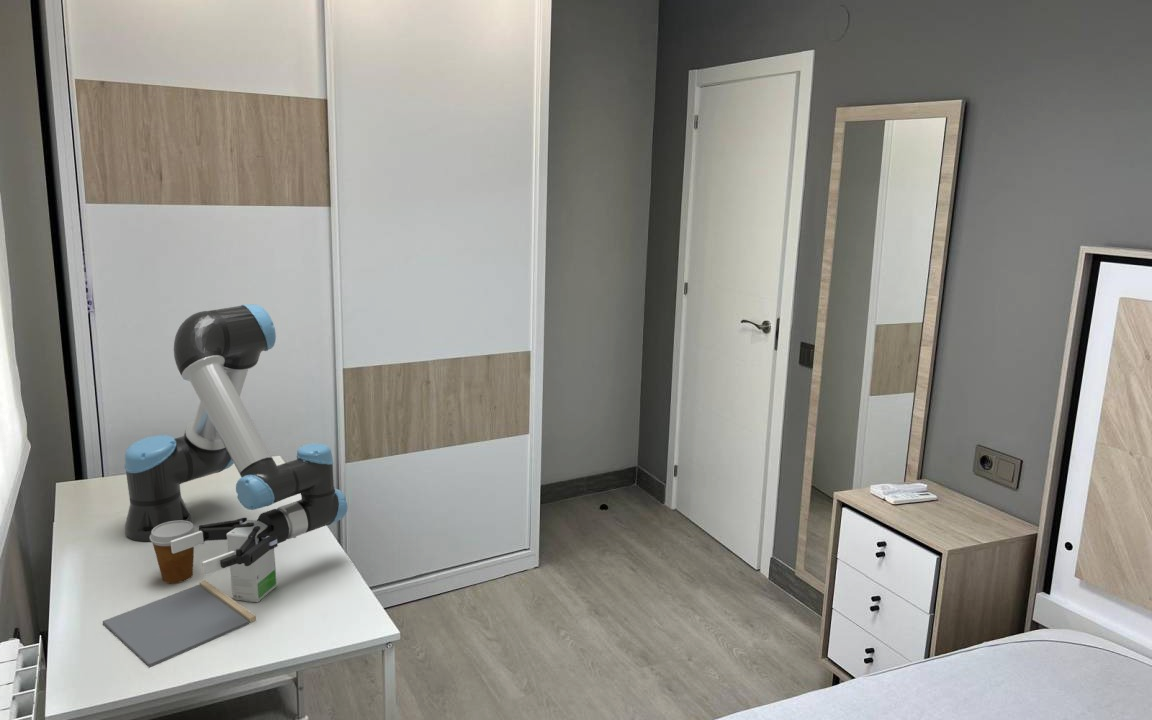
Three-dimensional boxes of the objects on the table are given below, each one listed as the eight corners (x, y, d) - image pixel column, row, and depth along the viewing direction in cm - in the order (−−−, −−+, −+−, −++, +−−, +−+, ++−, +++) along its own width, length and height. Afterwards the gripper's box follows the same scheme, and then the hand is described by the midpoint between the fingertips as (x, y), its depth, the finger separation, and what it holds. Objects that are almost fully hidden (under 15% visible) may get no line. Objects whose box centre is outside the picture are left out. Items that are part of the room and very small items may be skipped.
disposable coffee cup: (155, 591, 184) (149, 541, 181) (154, 571, 193) (148, 524, 190) (202, 581, 189) (197, 533, 186) (199, 563, 197) (194, 516, 194)
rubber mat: (103, 623, 172) (102, 618, 171) (205, 584, 187) (204, 579, 187) (149, 667, 158) (149, 661, 157) (256, 620, 174) (255, 615, 173)
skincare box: (257, 603, 180) (251, 537, 176) (230, 599, 181) (223, 534, 178) (278, 584, 188) (273, 521, 184) (252, 581, 189) (246, 517, 186)
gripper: (314, 557, 179) (219, 595, 164) (253, 523, 195) (161, 555, 179) (312, 525, 178) (215, 560, 162) (251, 493, 193) (157, 522, 177)
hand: (186, 557), depth 171 cm, fingers open, 13 cm apart
